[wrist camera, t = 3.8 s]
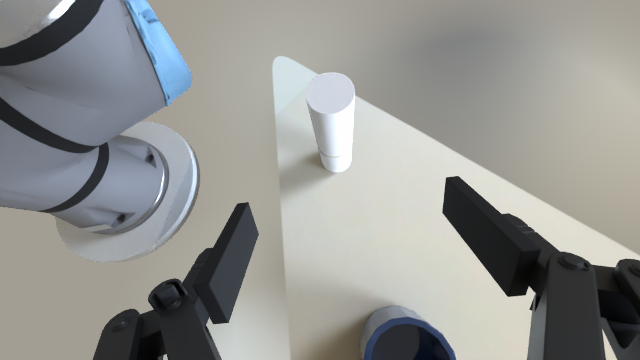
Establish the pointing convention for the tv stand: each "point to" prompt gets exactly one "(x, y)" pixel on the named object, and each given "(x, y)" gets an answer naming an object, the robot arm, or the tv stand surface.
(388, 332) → the cup
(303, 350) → the tv stand surface
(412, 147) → the tv stand surface
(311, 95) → the tube
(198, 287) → the robot arm
